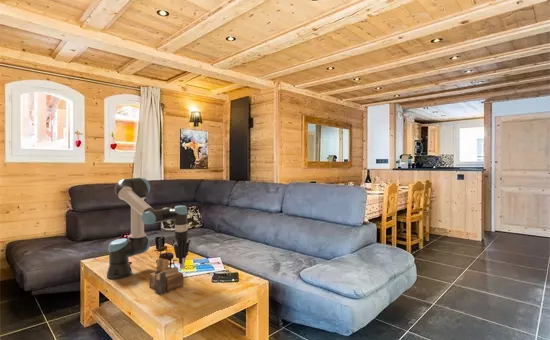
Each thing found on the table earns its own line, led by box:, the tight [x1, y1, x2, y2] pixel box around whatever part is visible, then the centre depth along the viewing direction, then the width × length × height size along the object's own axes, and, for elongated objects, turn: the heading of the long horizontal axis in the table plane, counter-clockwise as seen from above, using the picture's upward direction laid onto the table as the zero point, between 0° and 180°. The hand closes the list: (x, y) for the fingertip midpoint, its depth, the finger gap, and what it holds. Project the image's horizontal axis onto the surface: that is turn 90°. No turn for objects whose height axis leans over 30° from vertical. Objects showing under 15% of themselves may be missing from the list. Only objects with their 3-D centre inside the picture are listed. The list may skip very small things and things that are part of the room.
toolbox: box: [148, 270, 184, 296], centre depth 188 cm, size 16×16×12 cm
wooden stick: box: [156, 266, 179, 280], centre depth 185 cm, size 3×14×3 cm, turn 149°
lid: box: [149, 257, 184, 281], centre depth 190 cm, size 16×11×9 cm
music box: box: [153, 245, 177, 269], centre depth 210 cm, size 15×11×20 cm
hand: (182, 268), depth 195 cm, fingers closed
